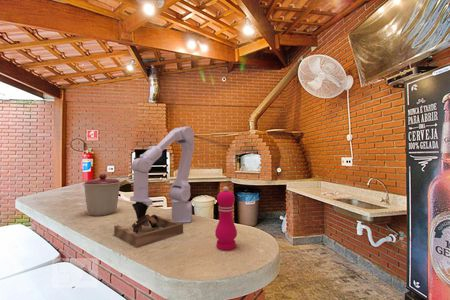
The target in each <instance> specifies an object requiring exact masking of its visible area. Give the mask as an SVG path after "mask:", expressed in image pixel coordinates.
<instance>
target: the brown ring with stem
mask: <svg viewBox="0 0 450 300" xmlns="http://www.w3.org/2000/svg"><path fill="white" fill-rule="evenodd" d="M157 216H158V215H156V214H152V215H150V214H147V213H146V214H145V216H143V217H141V218H140V219H138V220H137V219H136V221H135V222H133V224H131V227H132V228H133V229H132V232H134V233H136V234H139V233H138V232H142V227H149V226H150V227H151V229H154V230H158V229H160V227H159V226H158V217H157Z"/></svg>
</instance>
